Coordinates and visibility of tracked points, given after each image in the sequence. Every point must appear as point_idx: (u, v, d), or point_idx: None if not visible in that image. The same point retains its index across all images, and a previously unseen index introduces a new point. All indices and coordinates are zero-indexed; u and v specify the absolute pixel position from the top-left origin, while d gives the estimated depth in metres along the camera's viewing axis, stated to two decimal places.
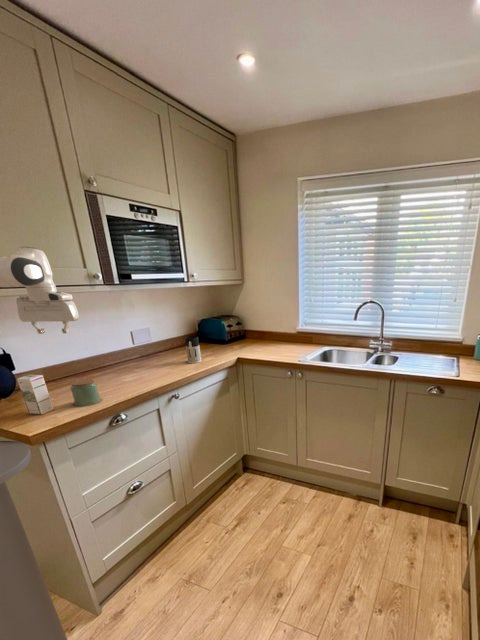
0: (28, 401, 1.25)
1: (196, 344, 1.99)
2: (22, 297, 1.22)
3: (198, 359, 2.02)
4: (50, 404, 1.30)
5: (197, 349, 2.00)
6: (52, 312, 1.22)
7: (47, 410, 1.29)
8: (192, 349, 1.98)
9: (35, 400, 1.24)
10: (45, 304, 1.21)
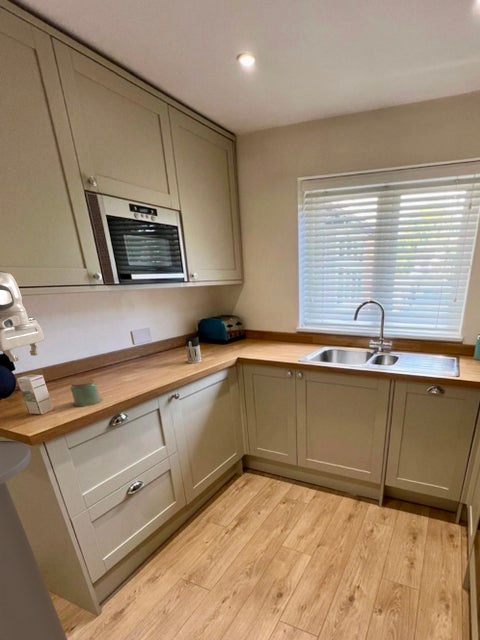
0: (28, 401, 1.25)
1: (196, 344, 1.99)
2: None
3: (198, 359, 2.02)
4: (50, 404, 1.30)
5: (197, 349, 2.00)
6: None
7: (47, 410, 1.29)
8: (192, 349, 1.98)
9: (35, 400, 1.24)
10: None
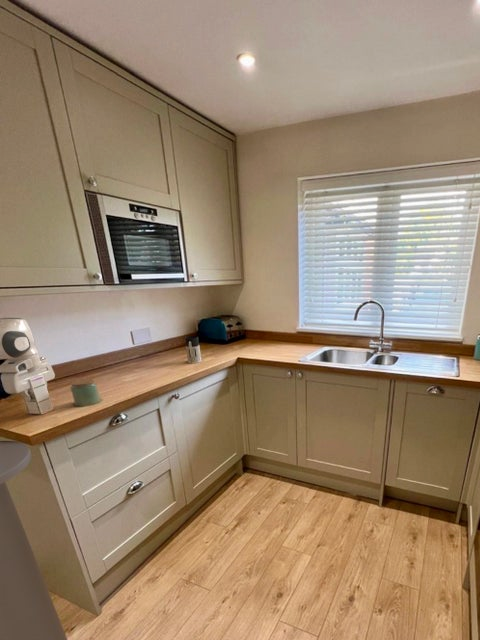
0: (28, 401, 1.25)
1: (196, 344, 1.99)
2: None
3: (198, 359, 2.02)
4: (50, 404, 1.30)
5: (197, 349, 2.00)
6: None
7: (47, 410, 1.29)
8: (192, 349, 1.98)
9: (35, 400, 1.24)
10: None
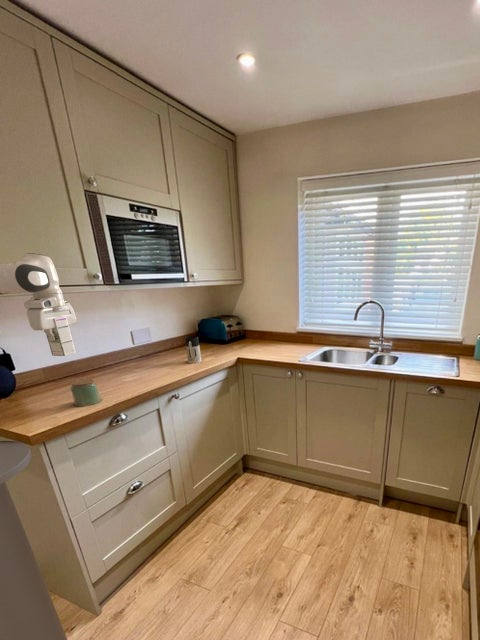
0: (52, 342, 1.25)
1: (196, 344, 1.99)
2: None
3: (198, 359, 2.02)
4: (73, 347, 1.30)
5: (197, 349, 2.00)
6: None
7: (70, 353, 1.29)
8: (192, 349, 1.98)
9: (59, 340, 1.24)
10: None
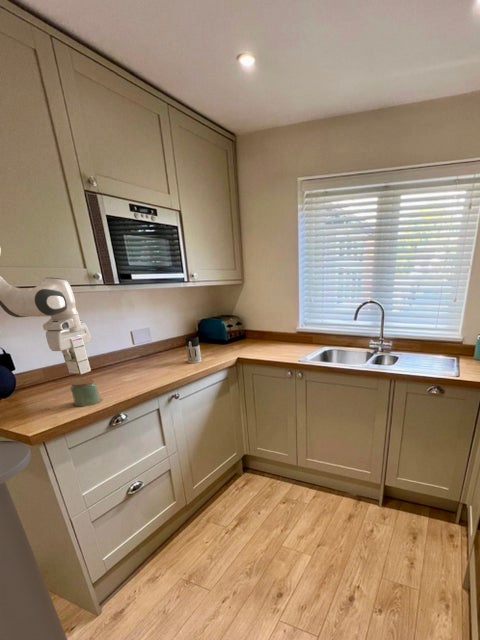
0: (68, 361, 1.30)
1: (196, 344, 1.99)
2: None
3: (198, 359, 2.02)
4: (88, 365, 1.35)
5: (197, 349, 2.00)
6: None
7: (85, 371, 1.34)
8: (192, 349, 1.98)
9: (76, 359, 1.29)
10: None
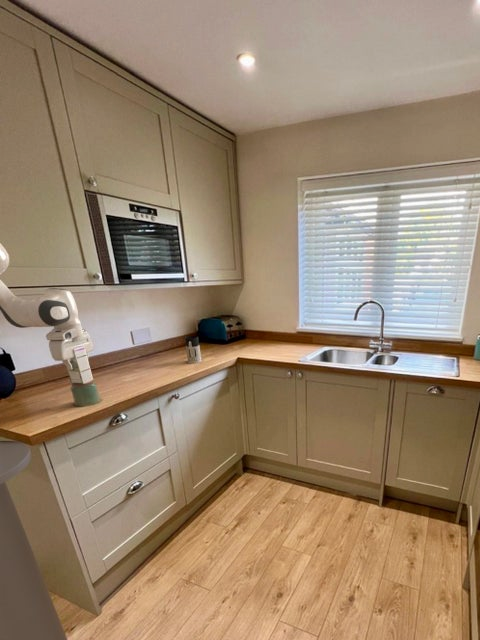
0: (71, 370, 1.31)
1: (196, 344, 1.99)
2: None
3: (198, 359, 2.02)
4: (91, 374, 1.36)
5: (197, 349, 2.00)
6: None
7: (88, 380, 1.35)
8: (192, 349, 1.98)
9: (78, 369, 1.30)
10: None
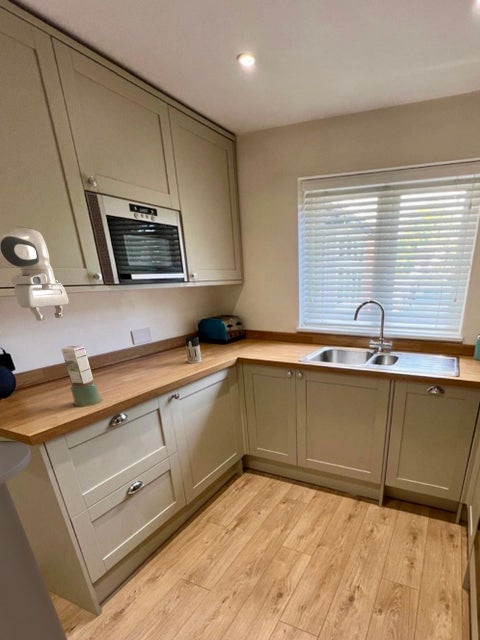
0: (71, 370, 1.31)
1: (196, 344, 1.99)
2: None
3: (198, 359, 2.02)
4: (91, 374, 1.36)
5: (197, 349, 2.00)
6: None
7: (88, 380, 1.35)
8: (192, 349, 1.98)
9: (78, 369, 1.30)
10: None
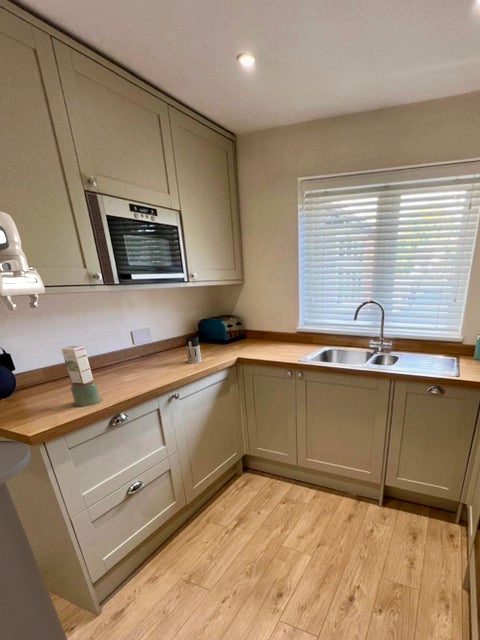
0: (71, 370, 1.31)
1: (196, 344, 1.99)
2: None
3: (198, 359, 2.02)
4: (91, 374, 1.36)
5: (197, 349, 2.00)
6: None
7: (88, 380, 1.35)
8: (192, 349, 1.98)
9: (78, 369, 1.30)
10: None
